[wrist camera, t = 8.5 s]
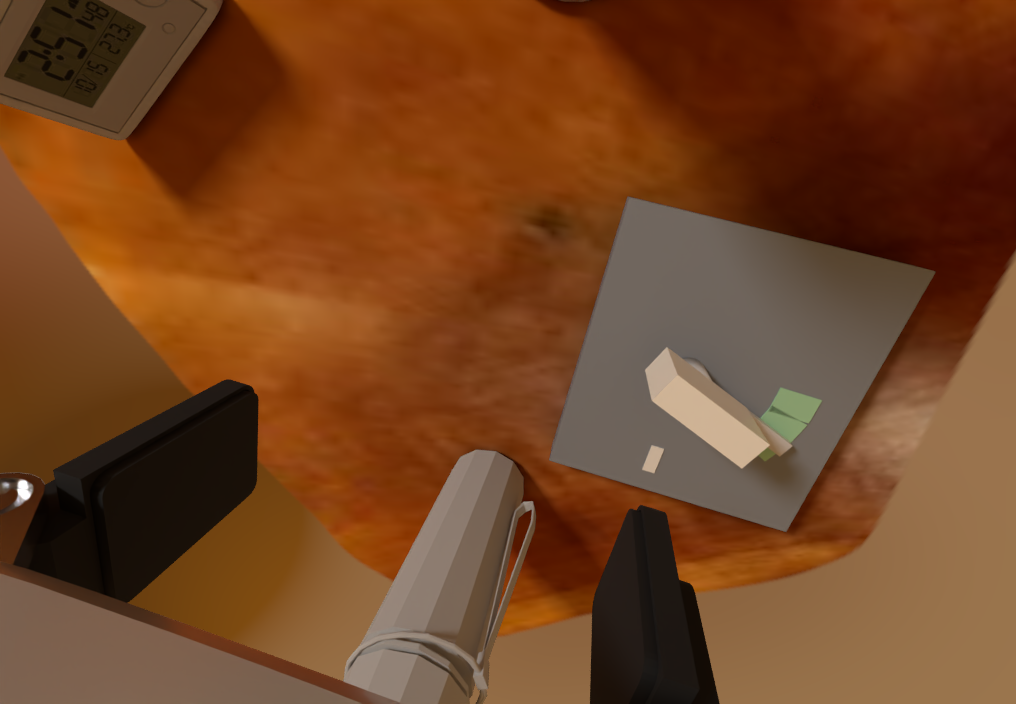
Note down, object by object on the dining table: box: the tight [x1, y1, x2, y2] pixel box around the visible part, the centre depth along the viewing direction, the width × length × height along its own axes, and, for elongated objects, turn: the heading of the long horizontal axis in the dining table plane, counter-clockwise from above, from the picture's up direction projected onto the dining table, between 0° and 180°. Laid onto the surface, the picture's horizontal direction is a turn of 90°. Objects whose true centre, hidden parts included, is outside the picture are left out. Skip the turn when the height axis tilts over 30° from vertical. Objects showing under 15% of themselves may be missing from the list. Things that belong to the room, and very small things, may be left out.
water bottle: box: [343, 450, 536, 704], centre depth 33 cm, size 9×8×25 cm
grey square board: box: [549, 197, 936, 532], centre depth 36 cm, size 22×20×3 cm
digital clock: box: [0, 0, 223, 140], centre depth 32 cm, size 16×9×11 cm, turn 116°
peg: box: [645, 347, 792, 468], centre depth 32 cm, size 12×2×8 cm, turn 55°
